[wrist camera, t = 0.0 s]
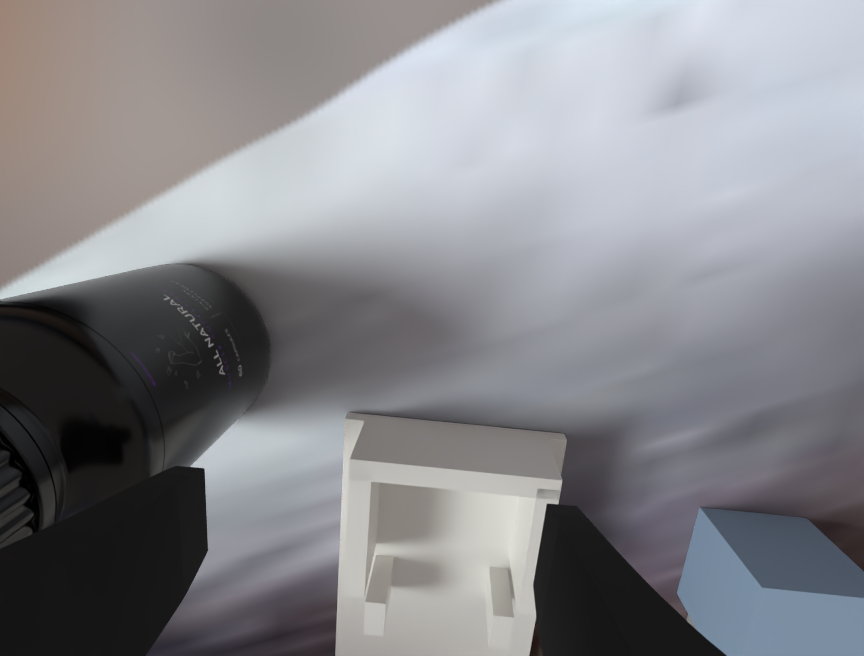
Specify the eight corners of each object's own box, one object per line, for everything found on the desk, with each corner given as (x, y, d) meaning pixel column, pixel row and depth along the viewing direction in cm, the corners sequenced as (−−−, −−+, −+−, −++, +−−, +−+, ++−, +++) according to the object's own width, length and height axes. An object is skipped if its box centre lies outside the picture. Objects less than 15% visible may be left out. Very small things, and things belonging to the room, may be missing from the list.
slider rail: (502, 788, 26) (509, 879, 23) (332, 768, 26) (313, 856, 23) (563, 433, 21) (585, 482, 17) (348, 412, 21) (326, 456, 17)
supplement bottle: (297, 299, 20) (73, 455, 8) (248, 442, 21) (6, 736, 10) (130, 231, 19) (-358, 292, 8) (94, 382, 21) (-346, 617, 9)
